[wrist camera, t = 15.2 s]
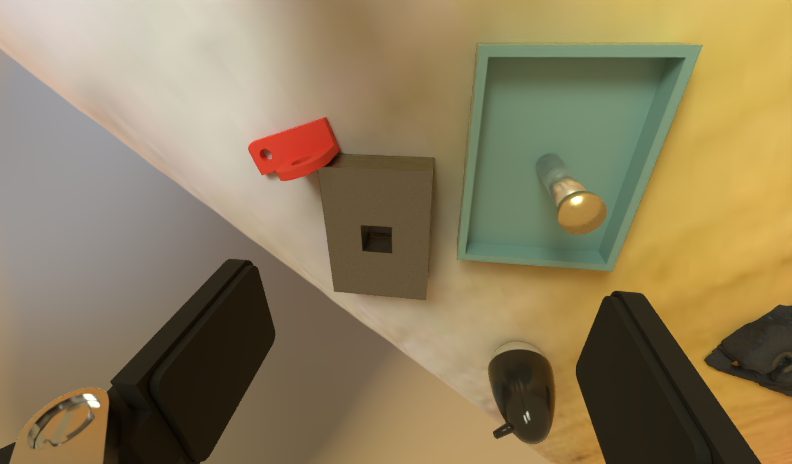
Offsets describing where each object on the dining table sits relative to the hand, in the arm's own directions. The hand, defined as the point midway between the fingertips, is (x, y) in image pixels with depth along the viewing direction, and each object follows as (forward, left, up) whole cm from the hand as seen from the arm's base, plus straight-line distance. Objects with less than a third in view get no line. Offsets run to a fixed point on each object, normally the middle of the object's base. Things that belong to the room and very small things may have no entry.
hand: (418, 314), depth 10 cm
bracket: (+7, -20, -37) cm, 42 cm away
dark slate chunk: (+37, +56, -37) cm, 76 cm away
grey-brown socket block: (+18, -8, -36) cm, 41 cm away
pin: (+8, +13, -35) cm, 38 cm away
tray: (+8, +13, -36) cm, 39 cm away
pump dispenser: (+43, +15, -36) cm, 58 cm away
